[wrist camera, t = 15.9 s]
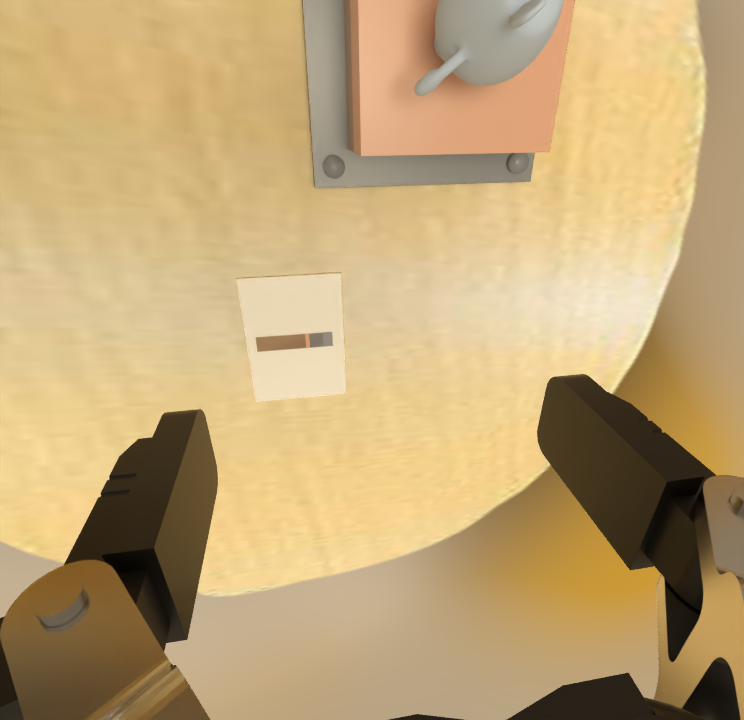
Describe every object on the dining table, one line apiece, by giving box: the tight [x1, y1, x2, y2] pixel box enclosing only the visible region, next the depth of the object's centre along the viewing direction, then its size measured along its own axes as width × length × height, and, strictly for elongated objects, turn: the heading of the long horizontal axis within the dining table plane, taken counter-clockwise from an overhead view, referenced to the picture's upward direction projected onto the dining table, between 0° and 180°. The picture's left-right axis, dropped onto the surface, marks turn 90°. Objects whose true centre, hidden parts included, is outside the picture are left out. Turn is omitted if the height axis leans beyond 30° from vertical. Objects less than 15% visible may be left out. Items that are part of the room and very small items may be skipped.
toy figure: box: [414, 0, 564, 96], centre depth 23 cm, size 11×6×12 cm, turn 131°
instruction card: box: [236, 272, 346, 402], centre depth 46 cm, size 10×14×1 cm
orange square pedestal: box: [302, 0, 575, 188], centre depth 32 cm, size 20×20×9 cm
